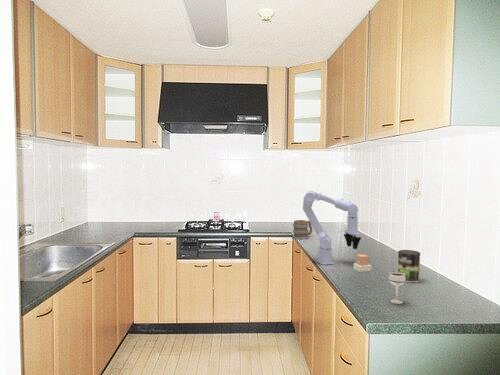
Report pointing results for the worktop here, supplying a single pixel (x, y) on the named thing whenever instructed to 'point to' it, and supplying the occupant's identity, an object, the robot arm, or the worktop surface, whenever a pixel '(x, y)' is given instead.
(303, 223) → the tankard
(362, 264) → the terracotta cube
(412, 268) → the coffee can
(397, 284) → the wineglass
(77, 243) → the worktop surface
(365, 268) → the cream plinth
